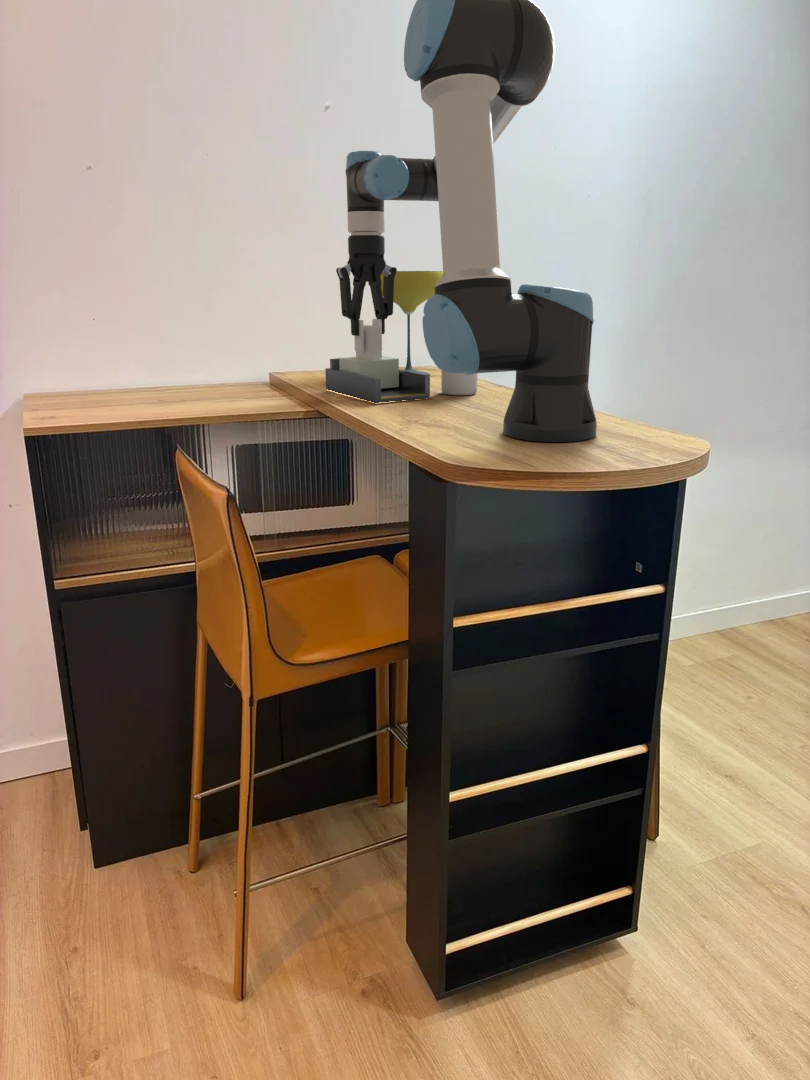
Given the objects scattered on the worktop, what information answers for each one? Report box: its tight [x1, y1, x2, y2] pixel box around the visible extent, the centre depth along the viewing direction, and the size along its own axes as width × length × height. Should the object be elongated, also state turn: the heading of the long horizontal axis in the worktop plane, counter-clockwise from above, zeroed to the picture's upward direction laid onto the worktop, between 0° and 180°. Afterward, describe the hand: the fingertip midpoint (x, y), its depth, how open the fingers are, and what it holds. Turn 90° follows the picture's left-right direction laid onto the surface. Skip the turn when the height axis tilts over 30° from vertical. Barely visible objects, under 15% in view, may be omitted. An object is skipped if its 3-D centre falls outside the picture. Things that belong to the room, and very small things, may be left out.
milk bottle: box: [440, 370, 478, 396], centre depth 175 cm, size 8×8×20 cm
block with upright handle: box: [338, 324, 400, 389], centre depth 177 cm, size 9×10×13 cm
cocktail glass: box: [380, 270, 443, 376], centre depth 204 cm, size 18×18×25 cm
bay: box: [324, 357, 431, 403], centre depth 176 cm, size 22×13×7 cm, turn 32°
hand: (368, 350), depth 176 cm, fingers open, 4 cm apart
